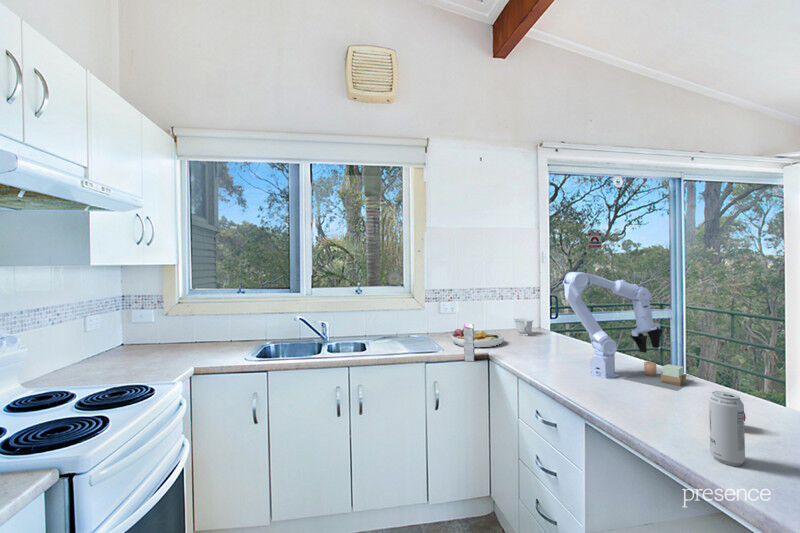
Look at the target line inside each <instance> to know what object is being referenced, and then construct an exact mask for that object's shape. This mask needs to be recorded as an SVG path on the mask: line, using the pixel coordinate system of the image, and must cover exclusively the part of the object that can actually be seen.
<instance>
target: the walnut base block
mask: <svg viewBox="0 0 800 533" xmlns="http://www.w3.org/2000/svg"><path fill="white" fill-rule="evenodd" d="M660 374H661V383H666V384H670V385H675V386H682V385H684V384H685V383H686V379H687V374H684V375H683V376H681V377H679V378H678V377H673V376H668V375H663V373H660Z"/></svg>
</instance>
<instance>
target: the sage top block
mask: <svg viewBox="0 0 800 533" xmlns="http://www.w3.org/2000/svg"><path fill="white" fill-rule="evenodd" d="M684 368H685V367H684V366H681V365H675V364H669V363H667V364H665V365H663V366H662V374H663V375H668V376H673V377H678V378H679V377H681V376H683V375H685V369H684Z"/></svg>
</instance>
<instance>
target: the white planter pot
mask: <svg viewBox="0 0 800 533" xmlns="http://www.w3.org/2000/svg"><path fill="white" fill-rule="evenodd" d="M513 321H514V322H515V330H516V332H518V334H529V335H530V333H531V332H532V328H533V322H534V319H532V318H525V317H524V318H514V320H513Z"/></svg>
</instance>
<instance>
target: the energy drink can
mask: <svg viewBox="0 0 800 533" xmlns="http://www.w3.org/2000/svg"><path fill="white" fill-rule="evenodd" d="M711 394H712V395H711V396H710V397H709V399H708V408H709V409H708V411H709V412H708V414H709V416H708V417H709V418H708V419H709V453H710V454H711V455H712V457H713V459H714V460H716V461H717V462H719V463H721V464H724V465H727V466H733V467H739V466H742V465H743V463H745V462H746V445H745V444H746V442H745V439H746V438H745V437H746V436H745V422H744V413H745V405H744V402H743V401H742V400H741V396H740V395H738V394H736V393H733V392H727V391H718V390H717V391H716V390H715V391H712V392H711Z"/></svg>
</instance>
